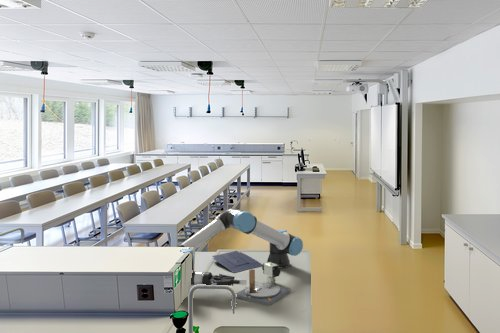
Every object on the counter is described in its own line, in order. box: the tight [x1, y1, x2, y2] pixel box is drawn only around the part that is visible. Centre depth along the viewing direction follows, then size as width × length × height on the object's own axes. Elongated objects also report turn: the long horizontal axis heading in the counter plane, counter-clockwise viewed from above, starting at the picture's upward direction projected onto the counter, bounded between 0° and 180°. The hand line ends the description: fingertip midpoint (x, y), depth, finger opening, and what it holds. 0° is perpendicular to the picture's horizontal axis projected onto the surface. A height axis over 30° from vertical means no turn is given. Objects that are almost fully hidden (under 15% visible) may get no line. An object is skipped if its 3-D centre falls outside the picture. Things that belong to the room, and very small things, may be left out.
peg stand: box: [244, 268, 281, 298], centre depth 238 cm, size 19×19×14 cm
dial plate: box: [235, 281, 291, 306], centre depth 239 cm, size 22×22×2 cm
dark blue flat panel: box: [211, 250, 263, 274], centre depth 294 cm, size 24×30×4 cm
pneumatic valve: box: [261, 261, 281, 284], centre depth 257 cm, size 6×12×12 cm, turn 37°
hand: (245, 281), depth 232 cm, fingers closed
